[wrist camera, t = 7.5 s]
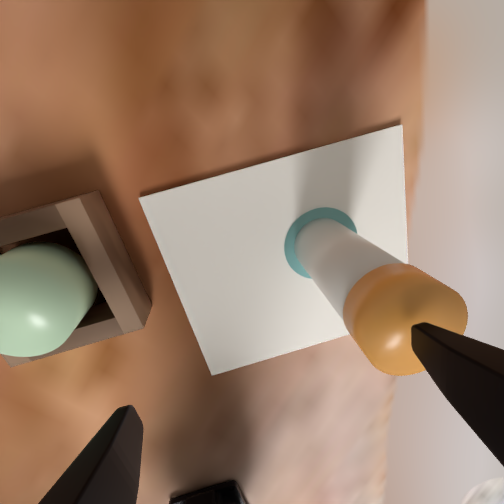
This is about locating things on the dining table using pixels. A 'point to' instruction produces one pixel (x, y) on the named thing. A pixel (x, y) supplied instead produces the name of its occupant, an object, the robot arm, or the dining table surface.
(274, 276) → the paper
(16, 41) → the dining table surface
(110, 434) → the robot arm
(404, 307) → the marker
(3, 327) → the button
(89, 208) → the button housing
